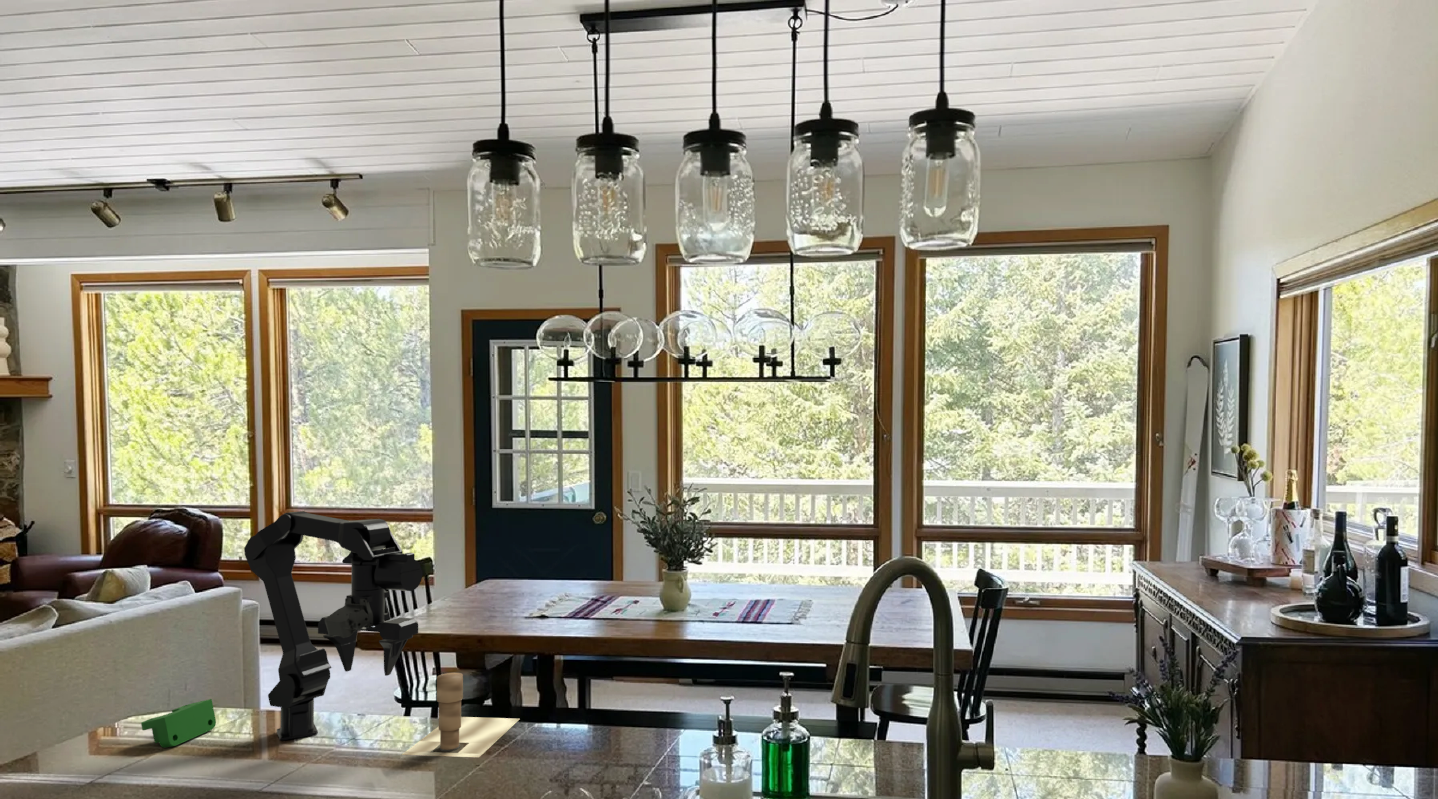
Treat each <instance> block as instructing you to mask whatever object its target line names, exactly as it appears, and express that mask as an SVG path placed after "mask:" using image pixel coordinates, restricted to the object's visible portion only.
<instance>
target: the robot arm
mask: <svg viewBox="0 0 1438 799" xmlns="http://www.w3.org/2000/svg"><path fill="white" fill-rule="evenodd" d="M304 536H306V537H311V538H316V539H321V540H327V541H330V542H331V541H332V542H335V543H337V544H338V545H339V546H340V547H341V549H344V550H347V551H349V554H348V555H347V556H345V558H343V559H342V564H347V565H351V582H350V583H351V584H350V585H351V590H350V591H351V593H350V594H348V595H346V596H345V597H346V598H345V599H344V605H343V606H342V607H339V608H338V609H337V610H335V611H334V612H332V613H331V614H329V615H328V616H324V617H323V616H322V617H321V618H320V620H319V621H318V623H317V634H321V635H323V638H324V639H327V640H329V641H330V642H331V643H332V644H334V647H335V649H336V651H337V654H338V656H339V659H340V662H341V664H342V666H343V669H344V672H347V673H348V672H350V671H351V670H352V667H353V663H354V656H355V652H356V645H357V644H356V642H357V638H358V637H357V636H358V632H359V631H361V632H373V633H374V632H375V633H379V636H380V637H381V640H379V641H378V643H379V644H380V645H381V647H382V648H383V671H384V676H386V677H387V676H390V675H392V672H393V670H394V668H395V665H396V663H397V661H398V659H399V657H400V654H401V653H402V650H403V649H404V647H405V645H406V643H407V642H408V640H410V639H412V638H413V637H414V636H415V635H418V634H419V623H418V621H417V619H416V618H413V617H412V618H411V617H410V618H409V617H397V618H394V619H391V620H390V613H387V612H385V610H386V609H385V600H386V598H387V599H388V598H390V591H403V592H413V591H415V590H416V589H417V588H418V587H419V586H420V584H421V583H422V580H423V569H422V566H421V563H420V562H419V561H418V560H416V559H415V553H414V552H406V553H405V552H404V551H403V550H402V548H401V547H400V544H399V542H398V540H397V539H396V538H395V536H394V535H393V532H392V531H391V529H390V526H389V524H388V522H387V521H386V519H382V518H381V519H380V518H376V519H375V518H374V519H359V520H348V519H347V520H346V519H341V518H336V517H331V516H325V515H319V514H314V513H309V512H307V511H305V510H302V511H301V510H300V511H293V512H289V511H288V512H285V513H283V514H281V515H280V516H278V518H276V520H275V521H273V522H271V523H270V524H269V525H267V526H265V527H263V528H262V529H260V530H259V531H258V532H257V533H255V535H252V536H251V537H250V538H249V539H248V541H247V542H246V545H245V546H244V548H243V549H244V556H245V559H246V562H247V563H248V566H249V568H250V570H251V572H252V573H253V574H254V575H255V576H256V577H258V578H259V579H260V581H262V582H263V585H264V588H265V593H266V596H267V599H268V602H269V606H270V609H271V610H270V611H271V614H272V618H273V621H274V625H275V628H276V632H277V636H278V640H279V643H280V647H281V651H282V654H281V655H282V656H281V659H280V662H279V666H278V670H277V671H278V678H279V681H278V682H277V684H276V685H274V686H273V688H272V689H271V691H270V692H269V693H268V695H267V698H268V702H269V705H270V706H271V707H275V708H276V707H278V708H280V727H279V728H276V734H277V737H278V738H279V741H287V740H292V739H298V738H299V739H300V738H302V737H303V738H304V737H308V736H309V737H310V736H315V735H318V733H319V731H318V728H317V727H316V725H315V722H314V720H315V719H314V718H315V716H314V715H315V699H316V698H319V697H323V696H324V695H325V692H326V690H327V686H328V683H329V680H330V679H331V670H330V669H332V666H331V664H330V662H329V660H328V653H327V650H326V649H325V647H323V648H319V649H318V648H317V647H316V646H314V644H312V642H311V638H310V635H309V631H308V627H307V625H306V621H305V616H304V614H303V610H302V606H301V603H300V599H299V596H298V592H297V588H296V584H295V581H294V578H293V574H292V571H293V569H294V565H295V562H296V560H297V557H296V549H297V547H298V546H299V545H301V543H302V542H303V540H304ZM403 552H404V553H403ZM387 590H388V591H387ZM389 590H390V591H389Z"/></svg>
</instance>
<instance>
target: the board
mask: <svg viewBox="0 0 1438 799" xmlns="http://www.w3.org/2000/svg"><path fill="white" fill-rule="evenodd" d="M519 720H521V719H520V718H510V717H508V718H506V717H479V716H478V717H477V716H475V717H473V716H461V727H460V728H459V744H466V745H465V746H464V747H462V748H461V750H459V751H458V752H434V750H435V749H436V748H438V747H440V730H439V726H437V727H436V728H434V729H433V730H432V731H431V732H429V733H428V734H427V735H426V736H424V737H422V738H421V739H420V740H419V741H417V742H416V743H415V744H413V745H412V746H410V748H408V749H407V750H406V751H404V752H403V753H402V754H401V755H403V756H421V757H422V756H423V757H424V756H425V757H427V756H428V757H452V758H454V757H455V758H475V759H476V758H477V759H478V758H479V759H480V757H482V755H483V754H485V753H486V752H487V751H488V750H489V749H490V748H491V747H492V746H493V745H494V744H495V743H496V742H497V741H498V740H499V739H500V738H501V737H502V736H504V735H505V734H506V733H507V732H508V731H509V730H510V729H511V728H512V727H513V726H514V725H515V724H516V723H517V722H519ZM480 765H481V764H478V765H475V767H479V766H480Z"/></svg>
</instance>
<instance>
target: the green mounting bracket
mask: <svg viewBox="0 0 1438 799" xmlns="http://www.w3.org/2000/svg"><path fill="white" fill-rule="evenodd" d="M212 699H213V698H209V699H205V700H200V701H197V702H193V703H189V704H185V705H183V706H182V705H181V706H180V707H177V708H174V709H172V710H171V712H169V713H166V714H164V715H160V716H157V717H156V716H155V717H152V718H149V719H146V720H144V721H142V722H140V724H141V731H146V730H151V731H152V737H153V742H154V743H155V744H157V743H159V745H160V747H162V749H166V748H172V747H177V746H179V745H180V744H182V743H185V742H187V741H189V740H192V739H194V738H196V737H198V736H200V735H203V734H205V733H207V732H210V731H212V730H214V728H216V725H217V720H216V715H215V714H216V713H215V709H214V704H213V700H212Z"/></svg>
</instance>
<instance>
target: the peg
mask: <svg viewBox="0 0 1438 799" xmlns="http://www.w3.org/2000/svg"><path fill="white" fill-rule="evenodd" d="M463 698H464V674H463V673H461V672H448V673H442V674H439V675H437V677H436V701H437V702H438V727H439V730H440V745H439V750H440V751H442V752H453V751H456V750H458V749H460V747H461V743H459V728H460V727H461V717H462V699H463Z"/></svg>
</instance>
